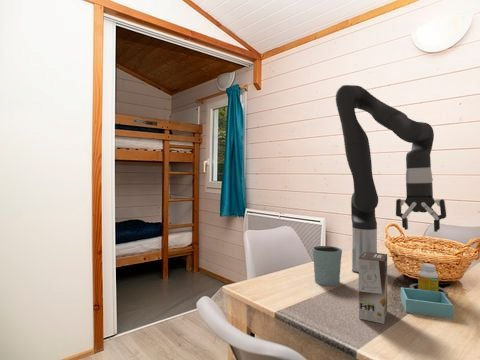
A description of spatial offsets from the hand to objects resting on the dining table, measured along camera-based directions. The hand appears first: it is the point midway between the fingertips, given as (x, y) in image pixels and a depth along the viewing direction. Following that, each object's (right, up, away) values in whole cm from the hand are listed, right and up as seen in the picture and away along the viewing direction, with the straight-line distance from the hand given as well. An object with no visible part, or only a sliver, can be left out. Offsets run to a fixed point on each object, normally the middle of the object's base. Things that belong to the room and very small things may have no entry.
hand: (420, 230), depth 99 cm
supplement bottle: (-1, -20, -5) cm, 21 cm away
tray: (-7, -20, -14) cm, 25 cm away
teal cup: (-29, -20, +8) cm, 36 cm away
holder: (-1, -20, -5) cm, 20 cm away
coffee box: (-24, -20, -18) cm, 36 cm away
